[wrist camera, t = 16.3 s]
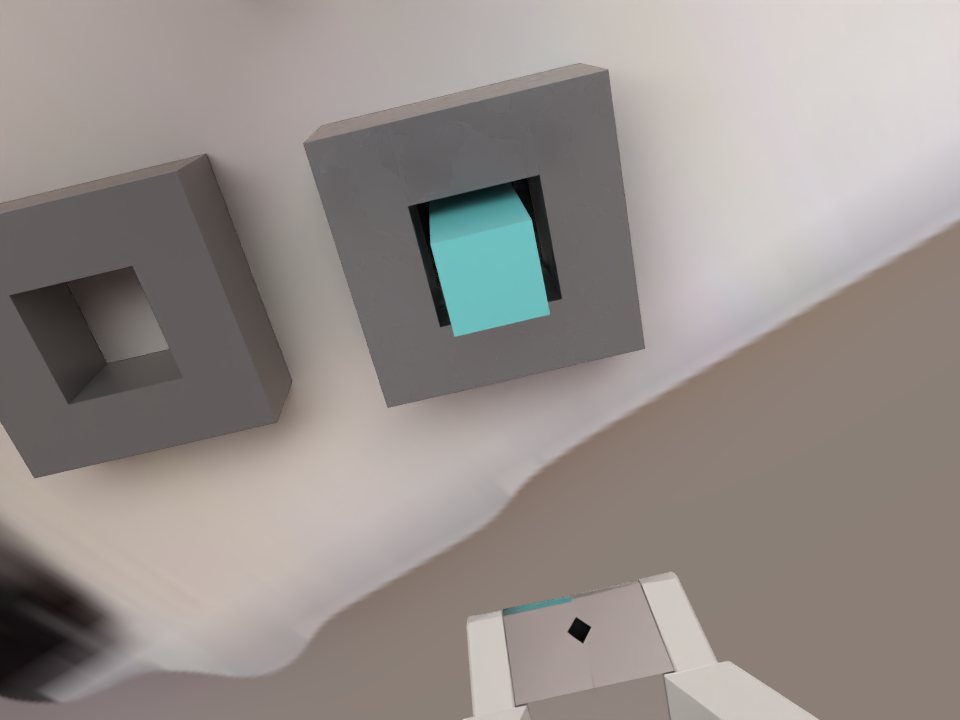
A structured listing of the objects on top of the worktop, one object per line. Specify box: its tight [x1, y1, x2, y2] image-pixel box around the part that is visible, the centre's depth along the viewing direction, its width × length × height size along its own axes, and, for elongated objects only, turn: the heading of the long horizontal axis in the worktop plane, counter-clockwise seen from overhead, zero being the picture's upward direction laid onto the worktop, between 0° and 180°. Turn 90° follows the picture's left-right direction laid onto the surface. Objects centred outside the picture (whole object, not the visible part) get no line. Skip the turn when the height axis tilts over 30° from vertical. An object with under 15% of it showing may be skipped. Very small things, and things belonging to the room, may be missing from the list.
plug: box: [429, 182, 550, 337], centre depth 28 cm, size 4×4×8 cm
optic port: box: [303, 63, 645, 408], centre depth 30 cm, size 11×11×5 cm
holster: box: [0, 154, 292, 478], centre depth 31 cm, size 11×11×4 cm
